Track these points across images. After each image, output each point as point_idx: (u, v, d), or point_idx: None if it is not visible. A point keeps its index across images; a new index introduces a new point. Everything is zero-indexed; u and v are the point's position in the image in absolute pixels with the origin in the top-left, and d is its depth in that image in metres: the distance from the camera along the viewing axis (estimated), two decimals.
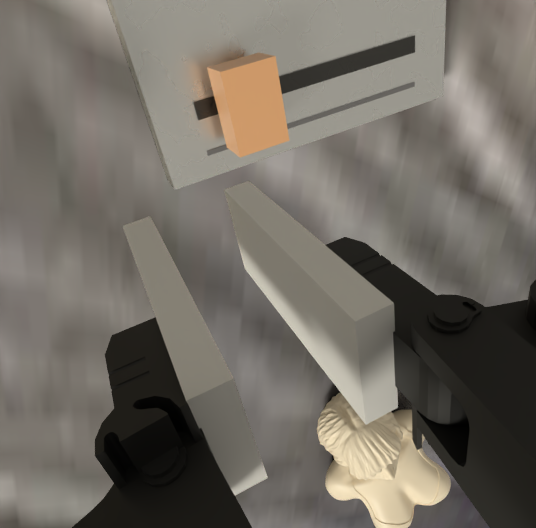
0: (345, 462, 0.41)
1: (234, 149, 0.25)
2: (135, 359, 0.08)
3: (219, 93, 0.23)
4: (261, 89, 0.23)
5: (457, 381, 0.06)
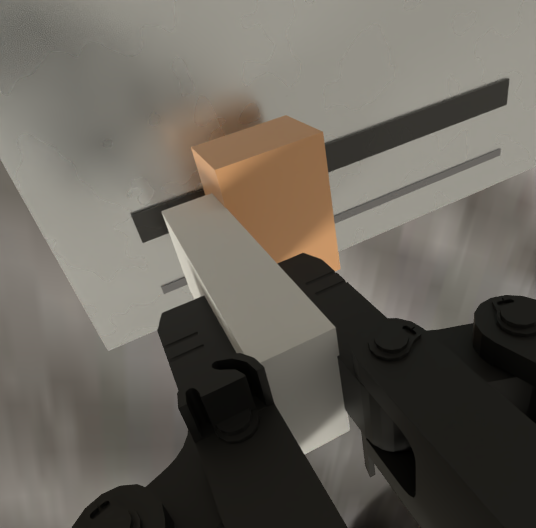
0: None
1: None
2: (188, 334, 0.09)
3: None
4: (294, 192, 0.12)
5: (400, 414, 0.06)
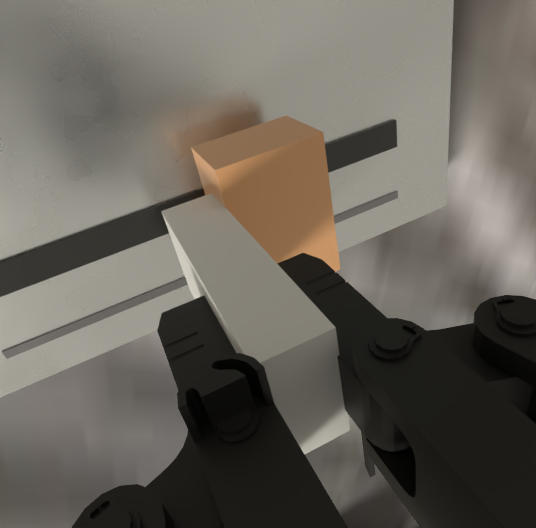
0: None
1: None
2: (188, 334, 0.09)
3: None
4: (293, 192, 0.12)
5: (400, 413, 0.06)
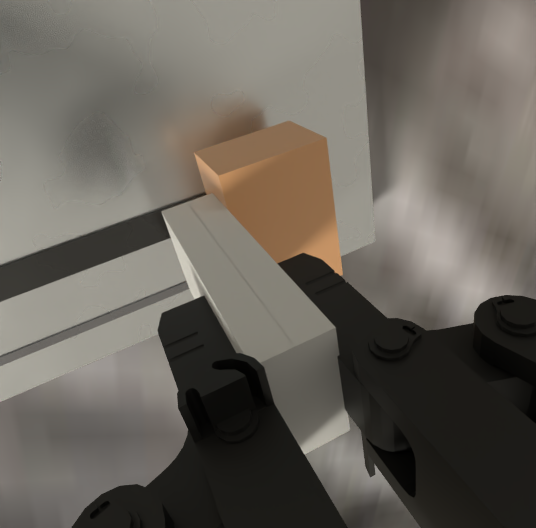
0: None
1: None
2: (188, 334, 0.09)
3: None
4: (297, 197, 0.12)
5: (400, 413, 0.06)
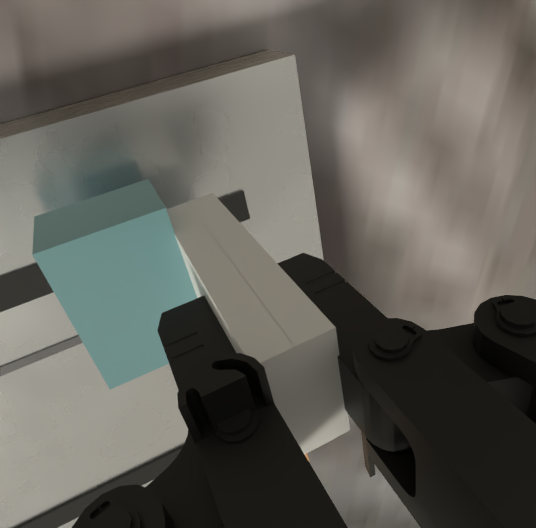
0: None
1: None
2: (188, 334, 0.09)
3: None
4: None
5: (399, 413, 0.06)
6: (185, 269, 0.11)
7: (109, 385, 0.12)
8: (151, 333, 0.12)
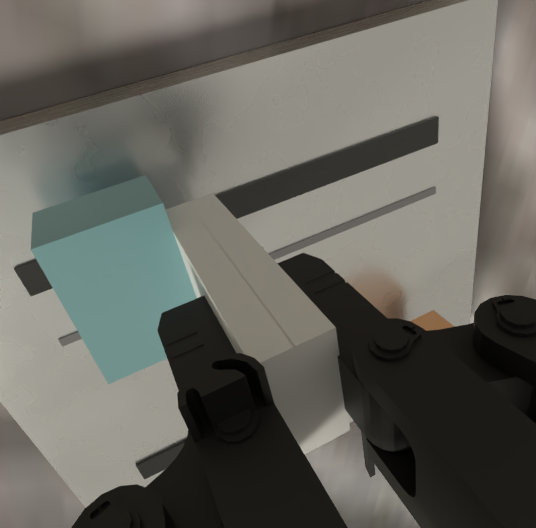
0: None
1: None
2: (188, 334, 0.09)
3: None
4: None
5: (399, 414, 0.06)
6: (182, 264, 0.11)
7: (108, 380, 0.12)
8: (149, 328, 0.12)
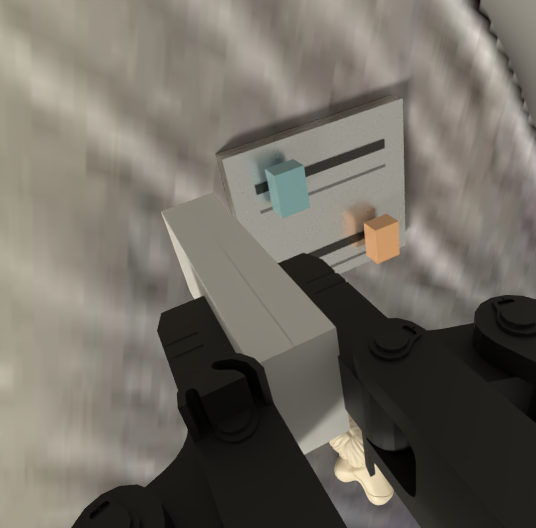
0: (346, 457, 0.65)
1: (373, 259, 0.51)
2: (188, 334, 0.09)
3: (370, 236, 0.50)
4: (390, 234, 0.50)
5: (400, 413, 0.06)
6: (305, 182, 0.42)
7: (282, 217, 0.43)
8: (295, 201, 0.42)
